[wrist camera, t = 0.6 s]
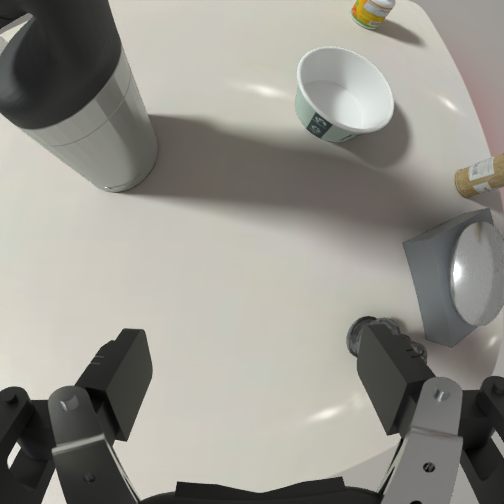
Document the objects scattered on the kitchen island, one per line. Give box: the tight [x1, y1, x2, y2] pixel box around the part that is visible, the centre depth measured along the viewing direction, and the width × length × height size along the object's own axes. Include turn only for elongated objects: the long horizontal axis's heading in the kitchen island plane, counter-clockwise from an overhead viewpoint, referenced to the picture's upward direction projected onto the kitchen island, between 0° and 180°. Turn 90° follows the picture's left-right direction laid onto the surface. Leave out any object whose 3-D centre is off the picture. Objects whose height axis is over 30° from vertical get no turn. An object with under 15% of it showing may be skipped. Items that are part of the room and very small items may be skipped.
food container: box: [295, 46, 394, 142], centre depth 32 cm, size 12×12×6 cm
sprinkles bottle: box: [455, 153, 504, 197], centre depth 31 cm, size 5×5×13 cm
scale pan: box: [448, 222, 504, 326], centre depth 30 cm, size 13×13×3 cm
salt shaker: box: [347, 316, 427, 364], centre depth 28 cm, size 6×6×12 cm
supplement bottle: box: [350, 0, 395, 29], centre depth 32 cm, size 5×5×10 cm
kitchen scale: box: [403, 208, 494, 348], centre depth 34 cm, size 14×15×5 cm
